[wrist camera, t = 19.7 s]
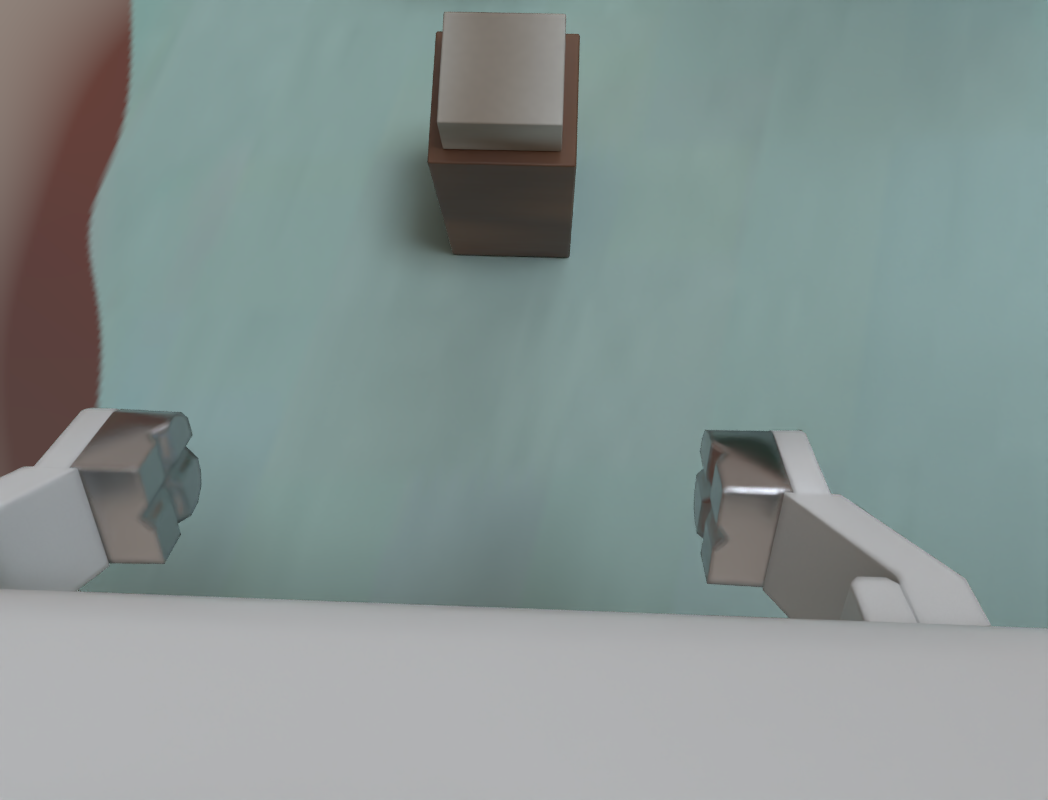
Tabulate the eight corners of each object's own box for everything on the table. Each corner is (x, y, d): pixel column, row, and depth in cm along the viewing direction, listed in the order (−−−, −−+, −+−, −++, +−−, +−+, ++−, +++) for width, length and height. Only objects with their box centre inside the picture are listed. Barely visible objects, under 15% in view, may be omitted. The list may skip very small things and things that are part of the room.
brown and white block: (572, 150, 30) (581, -1, 23) (569, 257, 30) (578, 139, 22) (458, 147, 31) (429, -3, 23) (452, 254, 30) (419, 136, 22)
